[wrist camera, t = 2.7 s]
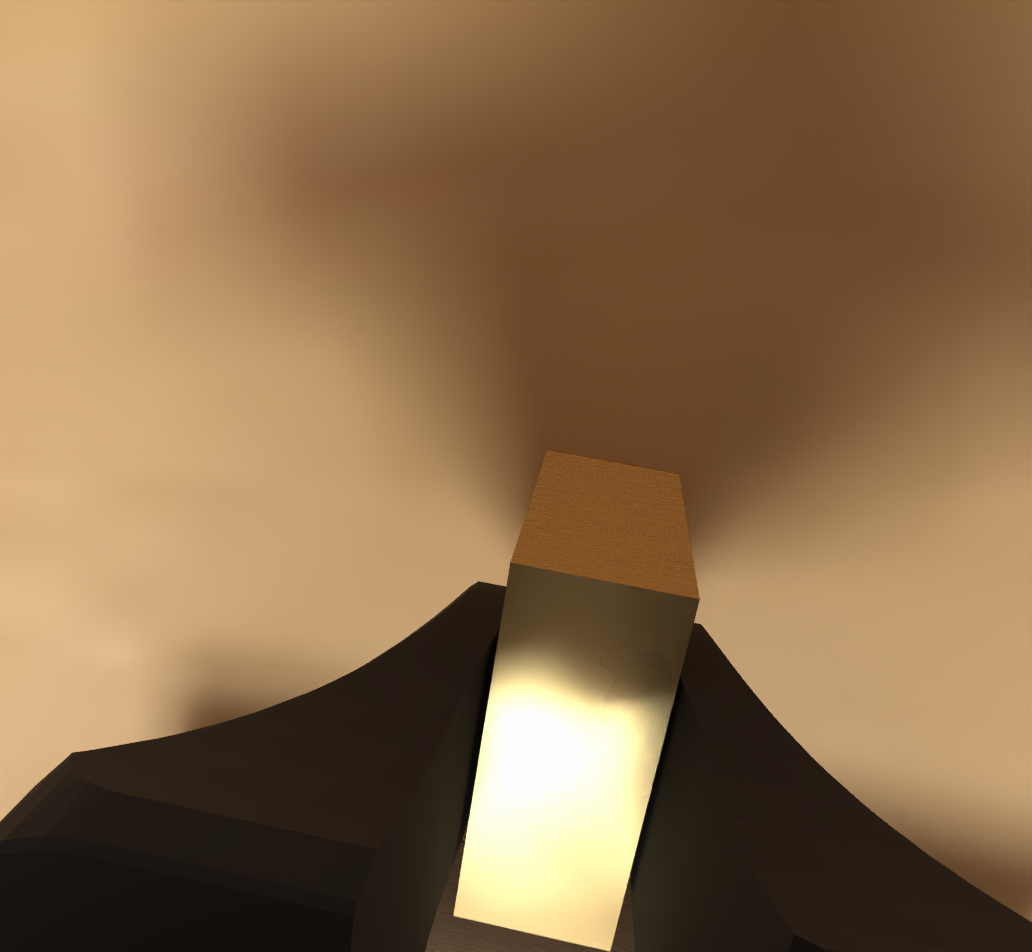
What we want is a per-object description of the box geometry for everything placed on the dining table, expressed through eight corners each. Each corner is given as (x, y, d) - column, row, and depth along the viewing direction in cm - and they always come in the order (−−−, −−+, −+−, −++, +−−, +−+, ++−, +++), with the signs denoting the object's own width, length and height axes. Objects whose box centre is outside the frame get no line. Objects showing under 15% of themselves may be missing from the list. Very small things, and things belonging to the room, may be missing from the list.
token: (679, 473, 12) (699, 599, 9) (616, 748, 14) (610, 951, 10) (547, 449, 12) (511, 562, 9) (500, 723, 14) (452, 915, 10)
